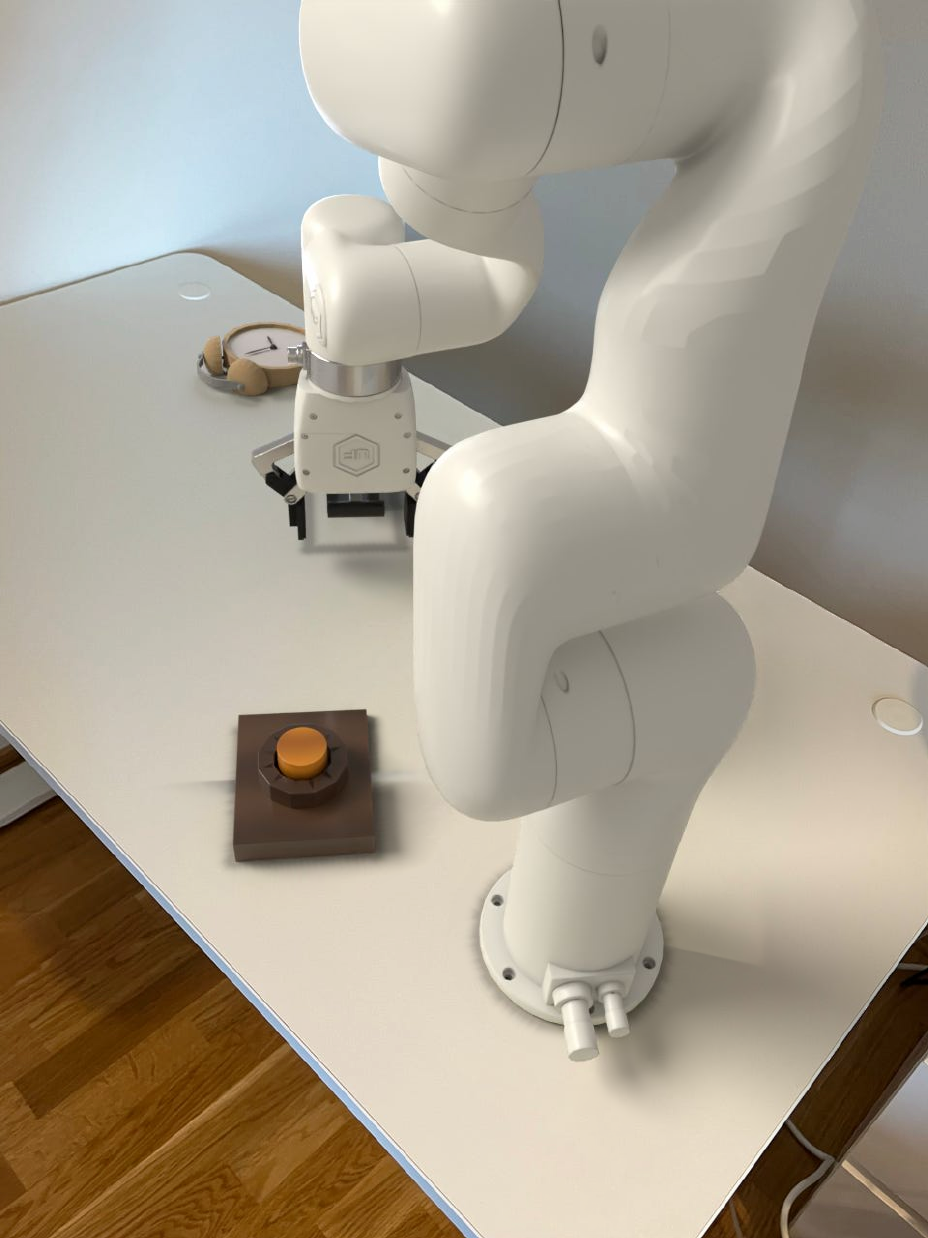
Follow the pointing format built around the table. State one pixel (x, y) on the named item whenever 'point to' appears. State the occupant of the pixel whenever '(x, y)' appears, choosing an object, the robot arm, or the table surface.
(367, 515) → the switch lever
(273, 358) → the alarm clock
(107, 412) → the table surface
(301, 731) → the light button
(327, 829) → the button block
